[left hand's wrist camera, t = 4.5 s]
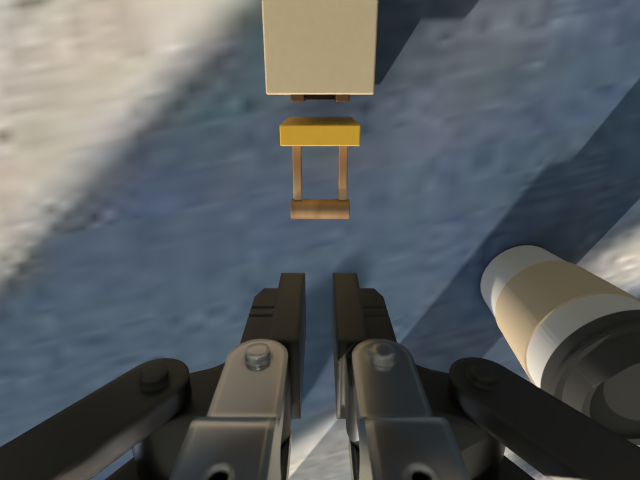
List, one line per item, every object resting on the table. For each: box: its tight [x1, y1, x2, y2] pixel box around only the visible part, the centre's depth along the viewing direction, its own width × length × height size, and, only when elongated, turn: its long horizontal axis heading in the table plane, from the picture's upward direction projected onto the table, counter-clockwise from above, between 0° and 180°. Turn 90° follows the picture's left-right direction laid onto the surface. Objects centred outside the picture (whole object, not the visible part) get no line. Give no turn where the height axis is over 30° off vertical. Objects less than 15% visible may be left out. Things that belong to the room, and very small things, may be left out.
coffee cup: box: [481, 245, 640, 445], centre depth 28 cm, size 9×9×15 cm
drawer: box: [280, 94, 360, 219], centre depth 25 cm, size 22×5×7 cm, turn 0°
